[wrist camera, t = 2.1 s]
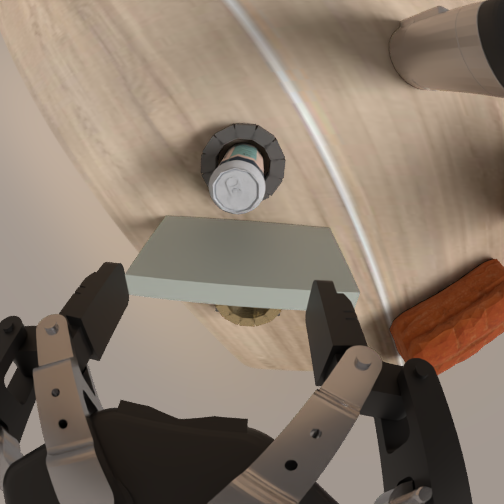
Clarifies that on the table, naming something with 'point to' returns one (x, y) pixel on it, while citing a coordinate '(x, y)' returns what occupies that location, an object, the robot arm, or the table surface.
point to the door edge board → (238, 263)
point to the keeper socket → (247, 314)
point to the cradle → (251, 133)
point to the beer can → (238, 180)
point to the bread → (454, 319)
